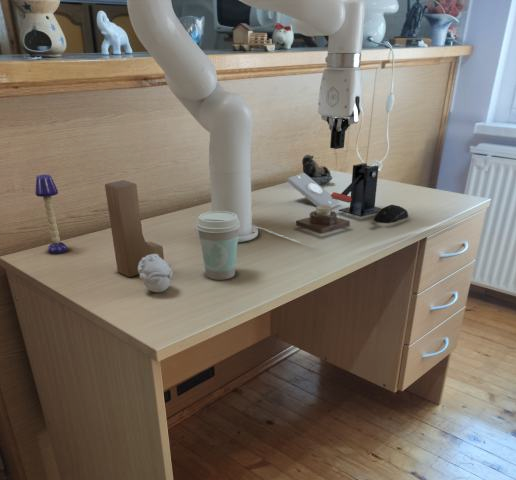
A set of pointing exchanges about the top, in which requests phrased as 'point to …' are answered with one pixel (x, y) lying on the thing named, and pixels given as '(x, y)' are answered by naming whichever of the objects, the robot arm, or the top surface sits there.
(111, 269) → the top surface
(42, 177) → the toy lamp
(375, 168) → the bracket
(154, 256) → the frog figurine
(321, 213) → the button
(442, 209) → the top surface
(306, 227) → the button block
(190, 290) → the top surface
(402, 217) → the gaming mouse
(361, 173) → the lever
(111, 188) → the wooden block
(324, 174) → the bison figurine
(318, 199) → the light switch
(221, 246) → the coffee cup
